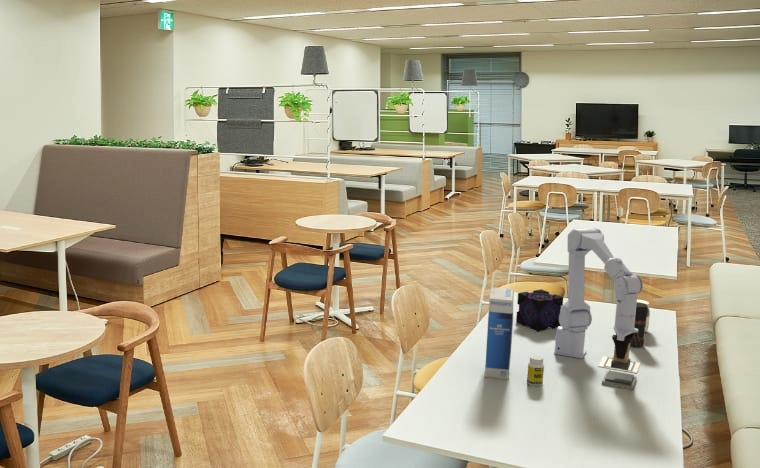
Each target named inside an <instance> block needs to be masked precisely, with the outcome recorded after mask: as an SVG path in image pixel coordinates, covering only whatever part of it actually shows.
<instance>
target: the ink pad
mask: <svg viewBox="0 0 760 468" xmlns="http://www.w3.org/2000/svg"><path fill="white" fill-rule="evenodd" d="M636 381H637V375H636V376H635V374H633V373H627V372H622V371H621V372H619V371H616V370H611V369H610V370H607V371H606V372H605V374H604V376H603V379H602V380H601V385H603V386H604V385H605V386H610V387H615V388H619V389H626V390H631V391H633V390H634V387H635V384H636Z"/></svg>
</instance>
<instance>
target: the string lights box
mask: <svg viewBox="0 0 760 468" xmlns="http://www.w3.org/2000/svg"><path fill="white" fill-rule="evenodd" d="M514 291H515V290H514V289H513V288H505V287H504V288H502V287H491V289H490V294H489V301H488V302H489V303H488V315H487V318H488V319H487V331H486V332H487V333H486V351H485V365H484V378H492V379H499V380H508V379H509V373H510V366H511V358H512V356H511V355H512V341H513V340H512V339H513V326H514V325H513V323H514V298H515V297H514V294H515V292H514Z"/></svg>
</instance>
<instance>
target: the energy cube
mask: <svg viewBox="0 0 760 468" xmlns="http://www.w3.org/2000/svg"><path fill="white" fill-rule="evenodd" d="M563 304H564V296H561V295H559V294H556V293H555V294H551V293H550V292H549V291H547V290H545V289H542V288H541V289H534V290H532V292H529V291H522V292H517V305H518V311H516V319H515V323H516V324H519V325H521V326H523V327H526V326H527V327H529V329H530V330H532V331H535V332H544V331H547V329H553V330H554V329H557V328H558V326H561V325H560V323H559V315H560V311H561V306H562V305H563Z"/></svg>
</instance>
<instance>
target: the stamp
mask: <svg viewBox="0 0 760 468" xmlns="http://www.w3.org/2000/svg"><path fill="white" fill-rule="evenodd" d="M630 349H631V348H630V343H629V345H628V348H627V351H626V355H625V358H624V359H619V358H617V356H616V348H615V347H614V351H613V357H612V358H613V359H612V361H611V367H613V368H619V369H624V370H628V369H629V366H630V361H632V360H631V359H632V358H630Z"/></svg>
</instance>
